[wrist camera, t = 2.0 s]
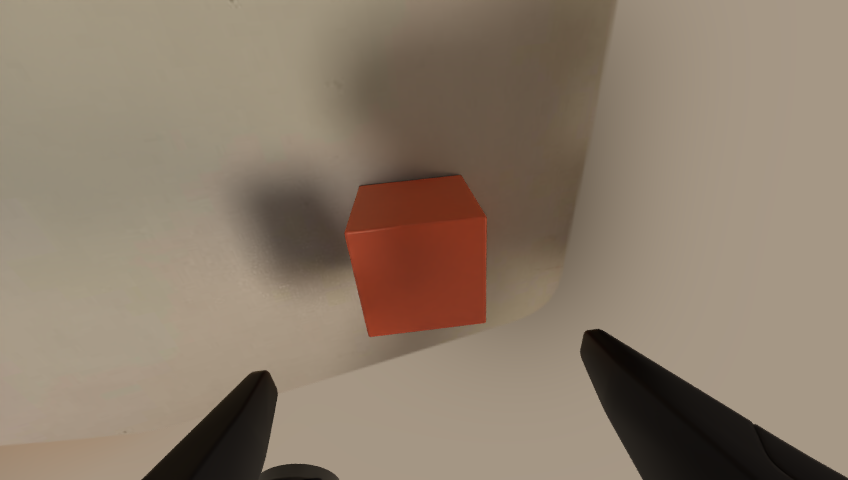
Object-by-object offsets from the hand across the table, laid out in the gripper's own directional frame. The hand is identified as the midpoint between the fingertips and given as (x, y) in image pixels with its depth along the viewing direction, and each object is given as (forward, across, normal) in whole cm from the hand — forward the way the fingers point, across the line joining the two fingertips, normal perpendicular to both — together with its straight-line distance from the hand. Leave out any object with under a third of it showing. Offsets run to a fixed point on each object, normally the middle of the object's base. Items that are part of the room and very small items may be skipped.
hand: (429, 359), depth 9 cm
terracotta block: (+9, 0, 0) cm, 9 cm away
